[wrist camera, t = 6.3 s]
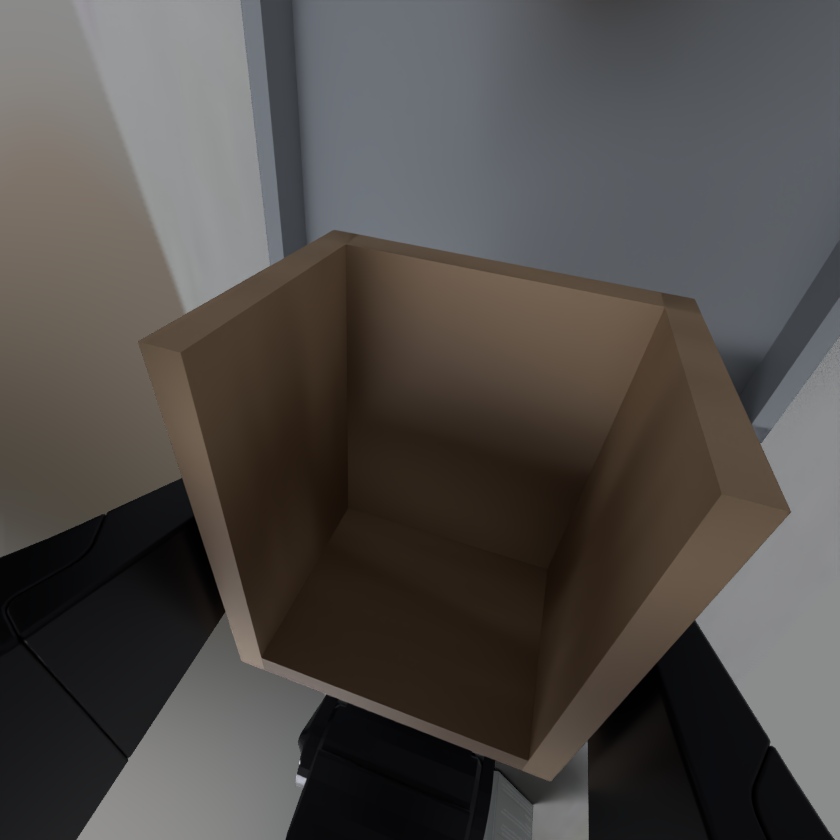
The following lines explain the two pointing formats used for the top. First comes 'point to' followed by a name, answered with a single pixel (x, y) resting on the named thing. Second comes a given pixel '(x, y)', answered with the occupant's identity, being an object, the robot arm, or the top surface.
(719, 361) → the scoop
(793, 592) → the top surface
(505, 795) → the skincare box
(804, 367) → the tray
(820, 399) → the top surface
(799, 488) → the top surface
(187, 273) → the top surface
